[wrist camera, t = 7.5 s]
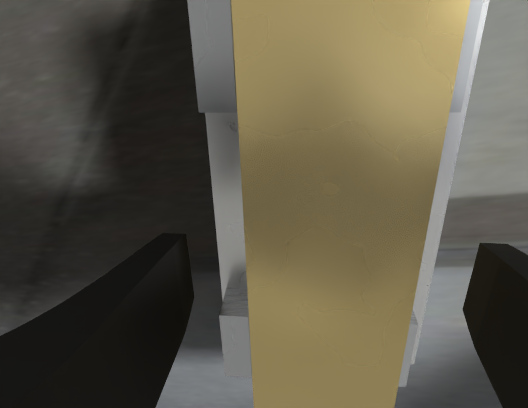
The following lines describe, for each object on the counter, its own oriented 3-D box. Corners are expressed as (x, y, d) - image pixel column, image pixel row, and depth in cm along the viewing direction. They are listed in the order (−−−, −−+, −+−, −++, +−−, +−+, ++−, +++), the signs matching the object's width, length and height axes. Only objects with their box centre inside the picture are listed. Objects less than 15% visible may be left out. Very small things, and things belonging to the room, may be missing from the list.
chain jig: (411, 356, 17) (423, 397, 15) (228, 346, 17) (220, 384, 16) (492, -49, 10) (530, -57, 8) (194, -39, 11) (174, -43, 9)
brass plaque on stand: (350, 350, 16) (371, 526, 11) (274, 346, 16) (259, 516, 11) (388, -26, 10) (478, -43, 5) (268, -23, 10) (229, -33, 5)
